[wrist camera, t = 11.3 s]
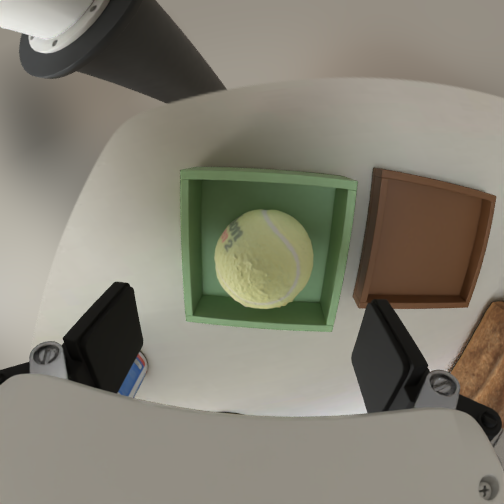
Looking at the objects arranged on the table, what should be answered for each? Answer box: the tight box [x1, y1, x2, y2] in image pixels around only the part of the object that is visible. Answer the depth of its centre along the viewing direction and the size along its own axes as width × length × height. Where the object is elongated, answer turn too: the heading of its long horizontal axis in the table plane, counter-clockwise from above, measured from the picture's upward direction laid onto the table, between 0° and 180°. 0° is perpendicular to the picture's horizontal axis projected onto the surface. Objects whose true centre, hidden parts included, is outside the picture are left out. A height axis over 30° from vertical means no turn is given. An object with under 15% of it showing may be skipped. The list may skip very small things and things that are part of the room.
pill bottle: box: [117, 352, 148, 398], centre depth 23 cm, size 6×5×10 cm
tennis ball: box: [214, 209, 314, 309], centre depth 19 cm, size 6×7×7 cm
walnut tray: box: [353, 168, 496, 309], centre depth 20 cm, size 11×13×2 cm
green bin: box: [180, 167, 358, 332], centre depth 20 cm, size 11×11×4 cm
